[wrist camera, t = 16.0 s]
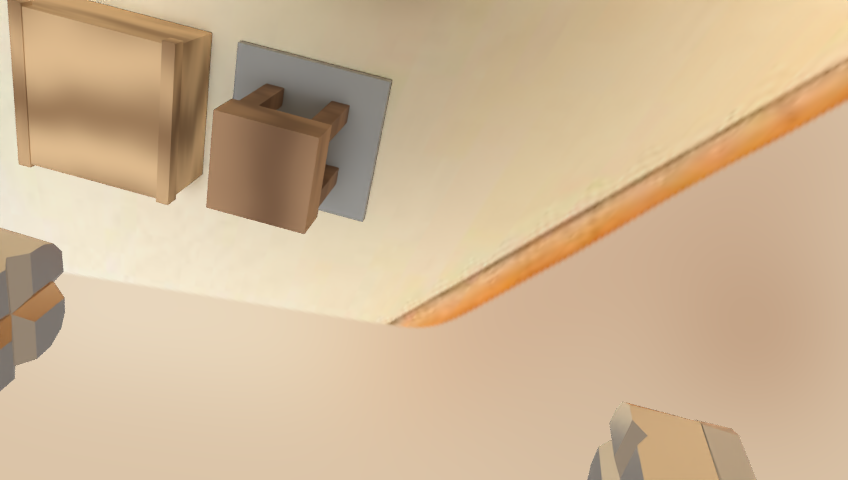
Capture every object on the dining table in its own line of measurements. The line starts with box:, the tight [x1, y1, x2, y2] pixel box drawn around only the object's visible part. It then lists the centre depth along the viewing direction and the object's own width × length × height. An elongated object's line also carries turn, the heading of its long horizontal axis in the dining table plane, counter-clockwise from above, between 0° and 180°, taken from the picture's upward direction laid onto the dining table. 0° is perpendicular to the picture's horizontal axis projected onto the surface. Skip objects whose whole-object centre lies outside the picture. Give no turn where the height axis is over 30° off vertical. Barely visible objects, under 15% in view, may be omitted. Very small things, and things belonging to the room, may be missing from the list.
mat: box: [233, 41, 392, 222], centre depth 44 cm, size 10×10×1 cm
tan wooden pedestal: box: [7, 0, 212, 205], centre depth 43 cm, size 10×10×5 cm
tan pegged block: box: [206, 83, 350, 234], centre depth 41 cm, size 6×6×8 cm
